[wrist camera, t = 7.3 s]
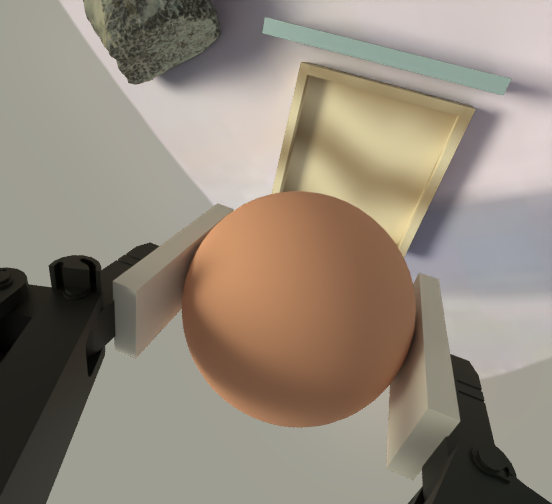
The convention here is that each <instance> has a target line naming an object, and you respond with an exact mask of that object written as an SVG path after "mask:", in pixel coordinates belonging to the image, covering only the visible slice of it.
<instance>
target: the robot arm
mask: <svg viewBox="0 0 552 504" xmlns="http://www.w3.org/2000/svg"><path fill="white" fill-rule="evenodd" d="M231 212H233V209H232V208H229V207H226V206H223V205H220V204H218V203H217V204H216V205H215V206H213V207H212V208H211V209H210V210H208V211H207V212H206V213H204V214H203V215H201V216H200V217H199V218H197V219H196V220H195V221H193V222H192V223H190V224H189V225H188V226H187V227H185V228H184V229H182V230H181V231H180V232H178V233H177V234H176V235H174V236H173V237H172V238H170V239H169V240H168V241H166V242H165V243H164V244H162V245H161V246H157V245H155V244H152V243H147V244H144V245H140V246H137V247H135V248H134V249H132V250H131V251H129V252H128V253H127V254H126V255H124V256H122V257H121V258H119V259H118V261H115V262H113V263H112V264H110V265H109V266H107V267H106V268H104V269H103V270H101V265H100V263H99V262H98V261H97V260H95V259H93V258H92V257H87V256H83V255H79V256H77V255H72V256H67V257H62V258H60V259H58V260H55V261H54V262H53V263H51V264H50V265H49V271H50V278H51V285H52V288H51V287H44V286H37V285H29V284H28V281H27V276H26V275H25V273H24V272H22V271H20V270H18V269H14V268H0V504H46V502H47V500H48V497H49V494H50V492H51V489H52V487H53V484H54V482H55V479H56V477H57V474H58V472H59V469H60V467H61V464H62V462H63V459H64V457H65V454H66V452H67V449H68V446H69V444H70V441H71V439H72V437H73V434H74V432H75V429H76V427H77V424H78V421H79V419H80V416H81V414H82V411H83V409H84V406H85V404H86V401H87V399H88V396H89V394H90V391H91V389H92V386H93V384H94V381H95V379H96V376H97V373H98V371H99V369H100V366H101V363H102V361H103V359H104V356H105V345H106V344H107V343H108V342H109V341H110V340H111V339H112V338H114V340H115V350H117V351H119V352H121V353H124V354H126V355H128V356H130V357H133V358H135V359H136V358H137V357H138V355H139V354H140V353H141V352H142V351H143V350H144V349H145V348H146V347H147V346H148V344H150V342H151V341H152V340H153V339H154V338H155V337H156V336H157V335H158V334H159V333H160V332H161V330H162V329H163V328H164V327H165V326H166V325H167V324H168V323H169V321H171V320H172V318H173V317H174V316H175V315H176V314H177V313H178V312H179V311H180V310H181V309H182V297H183V289H184V284H185V279H186V276H187V273H188V270H189V267H190V264H191V261H192V259H193V257H194V255H195V253H196V252H197V250H198V248H199V246H200V245H201V243H202V241H203V240H204V239H205V237H206V236H207V235H208V234H209V232H210V231H211V230H212V229H213V228H214V227H215V226H216V225H217V224H218V223H219V222H220V221H221V220H222V219H223V218H224V217H225V216H227V215H228V214H230V213H231ZM413 287H414V293H415V303H416V315H415V327H414V334H413V338H412V342H411V345H410V348H409V351H408V354H407V356H406V359H405V361H404V363H403V365H402V367H401V368H400V370H399V372H398V374H397V375H396V377H395V378H394V379H393V381H392V382H391V384H390V398H389V418H388V439H387V459H386V469H388V470H391V471H393V472H395V473H397V474H400V475H402V476H404V477H406V478H409V479H411V480H414V479H415V478H416V476H417V475H418V474H419V473H420V471H421V470H422V476H423V477H422V479H423V486H422V488H421V489H420V490H419V491H418V492H417V494H416V495H415V496H414V497H413V498H412V499H411V501H410V502H409V503H408V504H552V503H550V502H549V501H547V500H546V499H545V498H543V497H542V496H540V495H539V494H537V493H536V492H534V491H533V490H532V489H530V488H529V487H527V486H526V485H525V484H523V483H522V482H521V481H520V480H518V479H517V478H516V473H515V470H514V468H513V466H512V463H510V461H509V459H508V458H507V457H506V456H505V454H504V453H503V452H502V451H501V450H500V449H499V448H498V447H496V446H495V444H494V440H493V435H492V431H491V427H490V423H489V418H488V414H487V410H486V405H485V403H484V397H483V393H482V392H481V384H480V380H479V376H478V374H477V372H476V371H475V369H474V368H473V366H472V365H471V363H470V362H469V361H467V360H465V359H462V358H459V357H457V356H454V355H451V354H450V350H449V344H448V337H447V331H446V324H445V317H444V311H443V304H442V298H441V291H440V285H439V279H436V278H433V277H431V276H428V275H425V274H422V273H419V274H418V276H417V278H416V280H415V282H414V284H413Z"/></svg>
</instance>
